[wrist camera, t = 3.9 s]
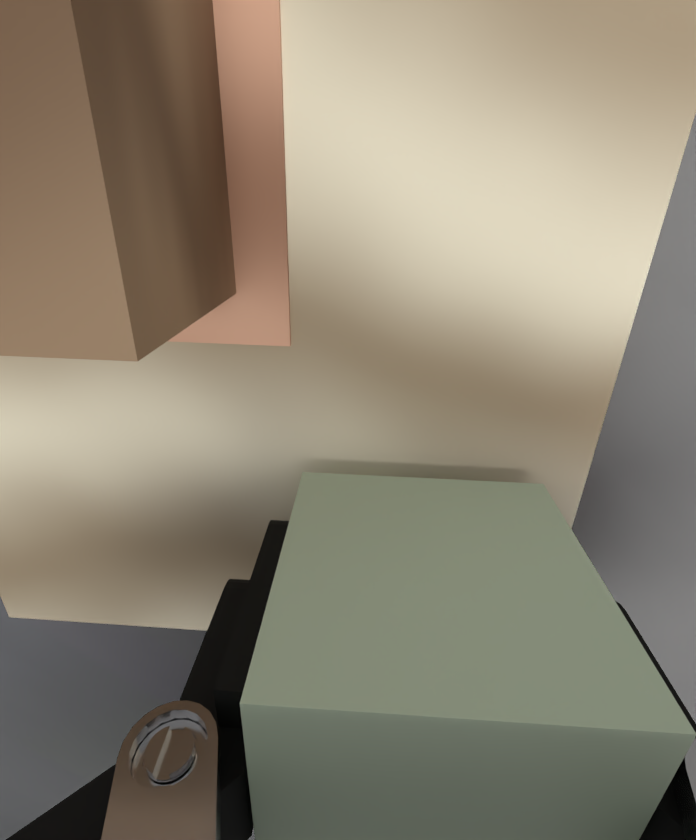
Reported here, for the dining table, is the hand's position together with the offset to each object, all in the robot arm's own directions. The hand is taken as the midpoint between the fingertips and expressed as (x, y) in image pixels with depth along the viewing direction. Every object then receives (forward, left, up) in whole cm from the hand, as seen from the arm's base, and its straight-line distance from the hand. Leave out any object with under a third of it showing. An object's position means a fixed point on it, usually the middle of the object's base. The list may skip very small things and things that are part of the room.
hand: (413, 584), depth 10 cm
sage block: (0, 0, 0) cm, 0 cm away
